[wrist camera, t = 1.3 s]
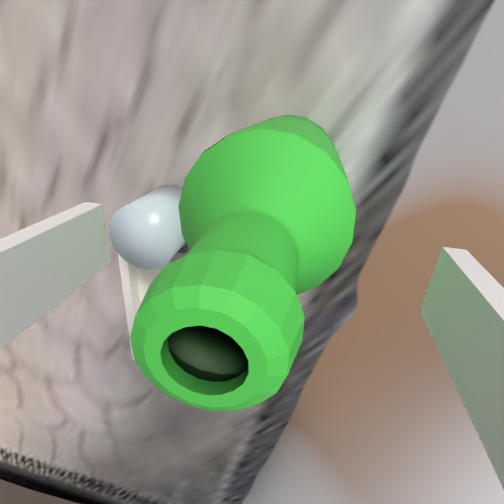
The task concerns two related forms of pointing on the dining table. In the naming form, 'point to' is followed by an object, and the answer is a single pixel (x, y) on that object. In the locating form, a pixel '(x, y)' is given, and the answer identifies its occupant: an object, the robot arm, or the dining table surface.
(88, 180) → the dining table surface
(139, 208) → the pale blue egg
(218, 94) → the dining table surface
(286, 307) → the bottle
